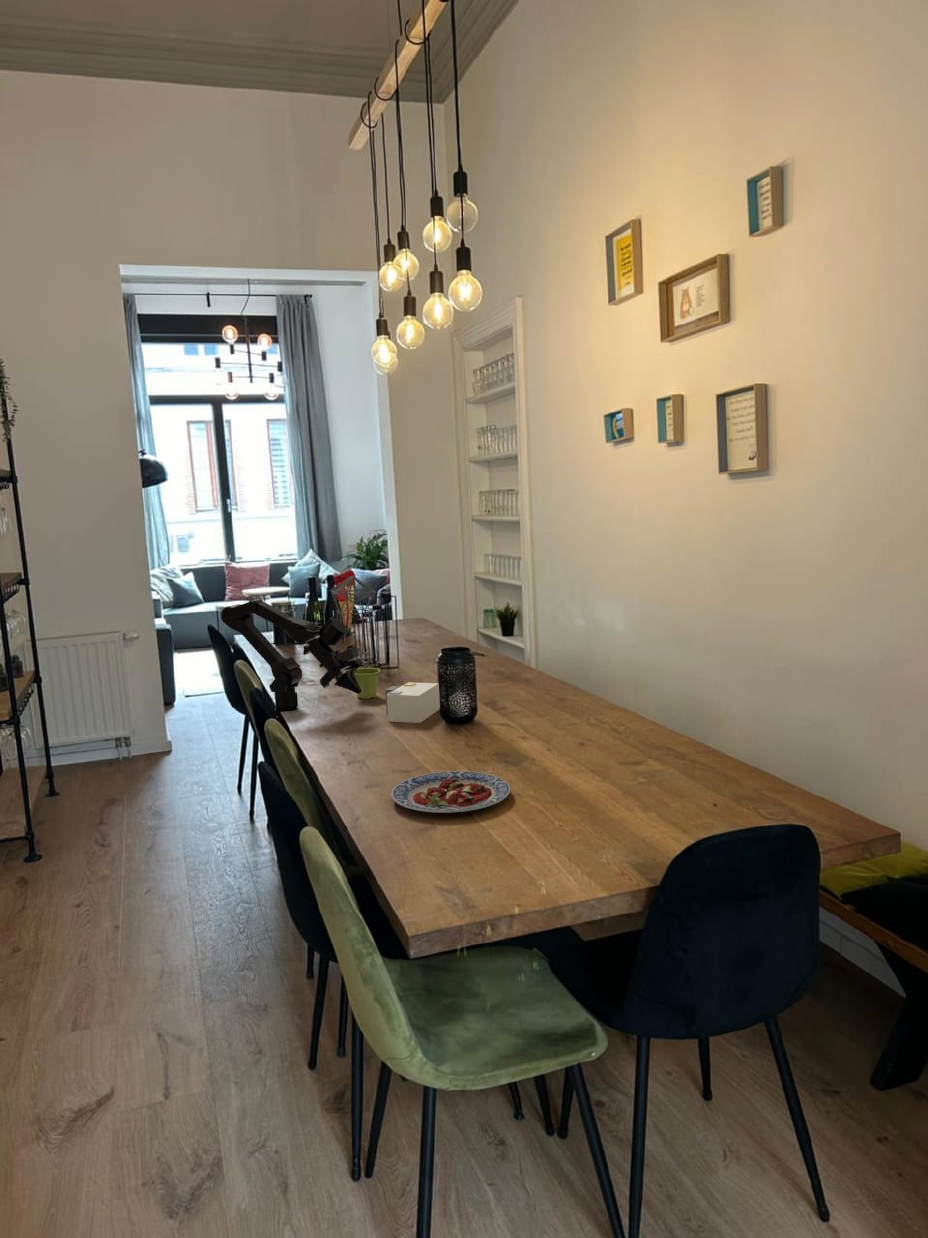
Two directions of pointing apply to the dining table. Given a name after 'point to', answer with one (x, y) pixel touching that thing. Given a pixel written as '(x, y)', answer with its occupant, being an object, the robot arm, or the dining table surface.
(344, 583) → the geometric lantern
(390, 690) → the plug
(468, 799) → the ceramic plate
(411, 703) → the port box
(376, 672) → the plant pot
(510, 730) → the dining table surface
